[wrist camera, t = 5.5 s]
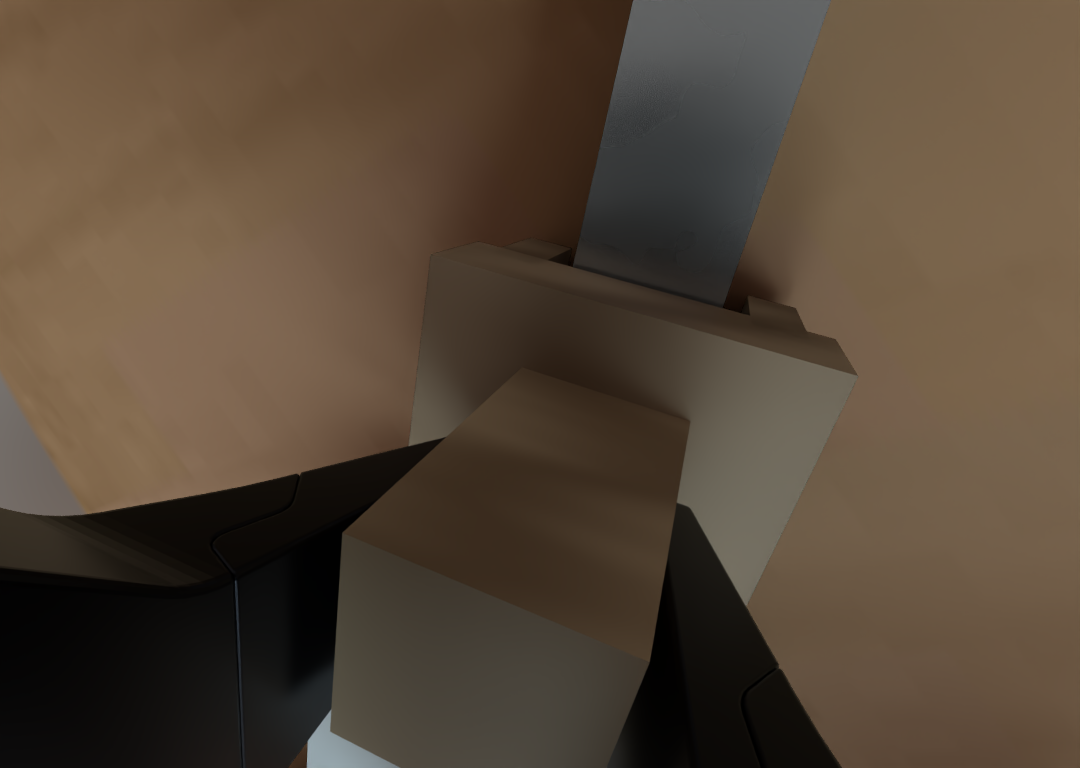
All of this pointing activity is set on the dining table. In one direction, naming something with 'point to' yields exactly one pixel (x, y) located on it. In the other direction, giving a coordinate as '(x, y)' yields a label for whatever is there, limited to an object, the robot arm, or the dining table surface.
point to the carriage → (562, 502)
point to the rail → (693, 139)
